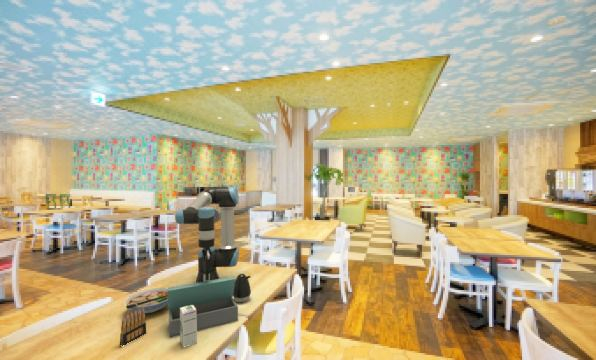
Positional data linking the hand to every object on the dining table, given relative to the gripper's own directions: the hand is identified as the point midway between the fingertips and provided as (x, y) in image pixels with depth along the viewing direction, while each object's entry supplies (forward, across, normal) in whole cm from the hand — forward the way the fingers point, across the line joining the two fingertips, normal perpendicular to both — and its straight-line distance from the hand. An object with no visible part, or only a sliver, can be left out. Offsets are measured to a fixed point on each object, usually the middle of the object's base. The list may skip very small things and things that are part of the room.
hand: (206, 285), depth 133 cm
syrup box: (+16, +17, -10) cm, 26 cm away
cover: (+4, 0, -2) cm, 4 cm away
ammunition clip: (+17, +4, -31) cm, 35 cm away
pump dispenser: (+17, -12, +21) cm, 29 cm away
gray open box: (+16, +4, -2) cm, 17 cm away
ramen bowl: (+17, -24, -25) cm, 38 cm away
